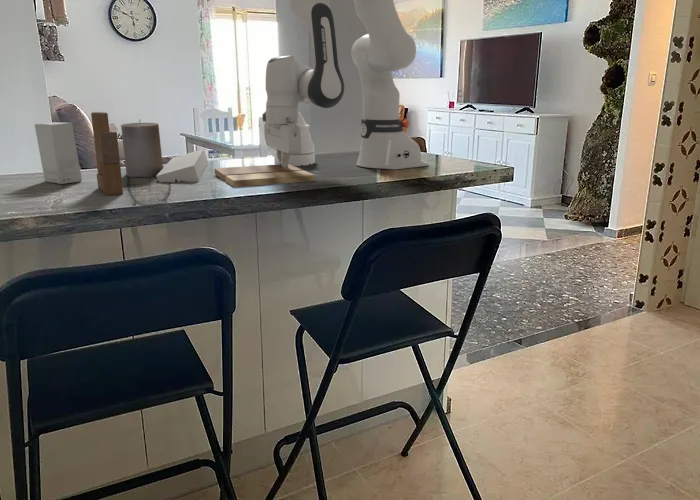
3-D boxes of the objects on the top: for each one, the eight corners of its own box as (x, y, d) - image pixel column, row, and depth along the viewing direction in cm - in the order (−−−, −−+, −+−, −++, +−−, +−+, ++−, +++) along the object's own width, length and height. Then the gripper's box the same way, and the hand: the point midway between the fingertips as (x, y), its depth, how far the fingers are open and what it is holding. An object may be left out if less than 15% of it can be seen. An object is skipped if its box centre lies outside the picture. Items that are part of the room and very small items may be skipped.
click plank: (289, 169, 169) (289, 163, 169) (302, 175, 161) (302, 169, 160) (214, 174, 160) (214, 168, 159) (224, 180, 151) (223, 174, 151)
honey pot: (276, 166, 177) (274, 105, 172) (272, 160, 189) (271, 103, 184) (317, 165, 180) (317, 105, 174) (311, 159, 192) (311, 103, 186)
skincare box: (82, 181, 148) (75, 122, 144) (59, 185, 143) (51, 124, 139) (64, 178, 153) (57, 120, 148) (42, 181, 148) (33, 122, 144)
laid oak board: (304, 176, 160) (304, 170, 159) (315, 180, 153) (315, 174, 152) (225, 181, 150) (225, 175, 150) (233, 186, 143) (233, 180, 143)
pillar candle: (156, 170, 166) (150, 117, 162) (168, 175, 159) (163, 119, 154) (121, 174, 160) (114, 119, 156) (133, 179, 153) (126, 121, 149)
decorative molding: (162, 193, 150) (200, 183, 151) (155, 176, 148) (193, 165, 149) (177, 172, 182) (208, 163, 183) (172, 157, 181) (203, 149, 181)
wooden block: (107, 195, 132) (97, 114, 126) (97, 188, 140) (88, 112, 135) (123, 194, 133) (115, 114, 128) (113, 186, 142) (105, 111, 137)
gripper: (307, 119, 153) (307, 171, 157) (280, 114, 171) (281, 161, 175) (284, 119, 150) (285, 172, 154) (260, 114, 168) (261, 162, 172)
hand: (283, 166), depth 165 cm, fingers closed, pressing on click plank
